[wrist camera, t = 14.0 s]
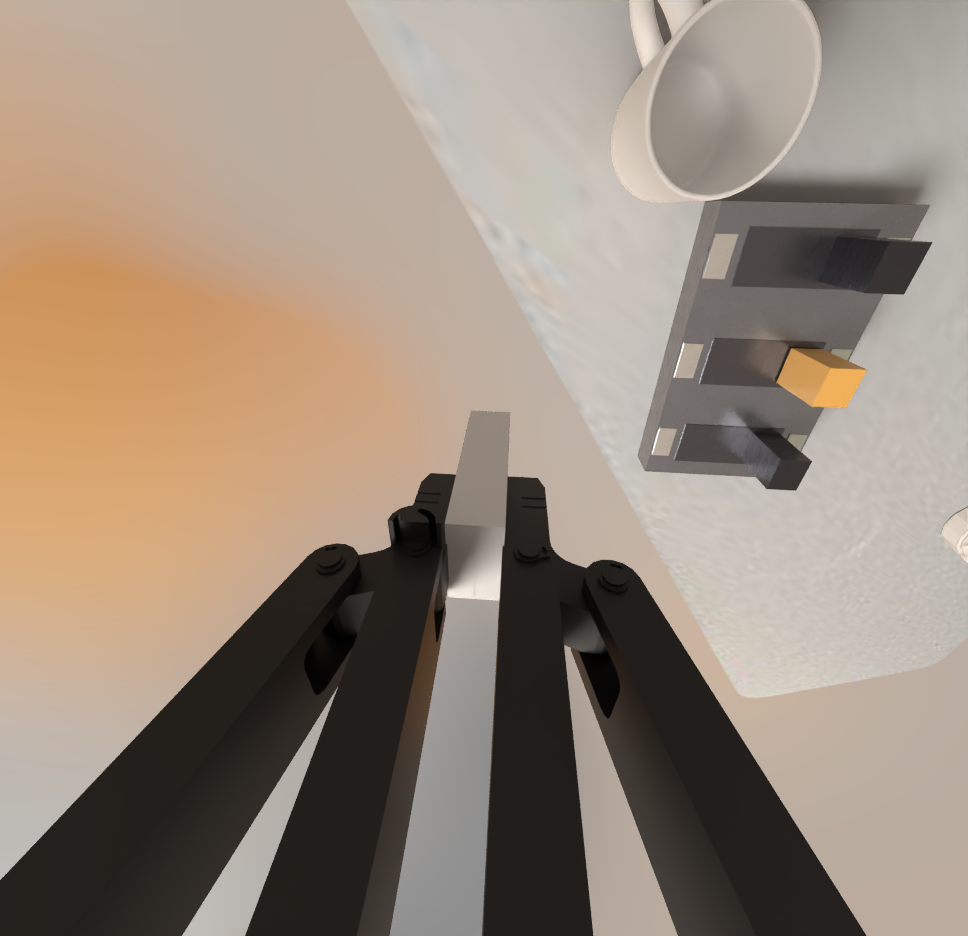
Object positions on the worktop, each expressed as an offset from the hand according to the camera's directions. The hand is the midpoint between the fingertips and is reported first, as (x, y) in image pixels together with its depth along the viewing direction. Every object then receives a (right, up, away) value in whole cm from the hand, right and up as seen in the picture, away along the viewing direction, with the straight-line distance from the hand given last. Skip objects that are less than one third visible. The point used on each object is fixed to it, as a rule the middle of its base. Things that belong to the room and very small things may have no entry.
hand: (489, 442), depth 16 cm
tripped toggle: (+26, +8, +18) cm, 33 cm away
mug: (+12, +25, +12) cm, 30 cm away
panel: (+24, +10, +21) cm, 33 cm away
